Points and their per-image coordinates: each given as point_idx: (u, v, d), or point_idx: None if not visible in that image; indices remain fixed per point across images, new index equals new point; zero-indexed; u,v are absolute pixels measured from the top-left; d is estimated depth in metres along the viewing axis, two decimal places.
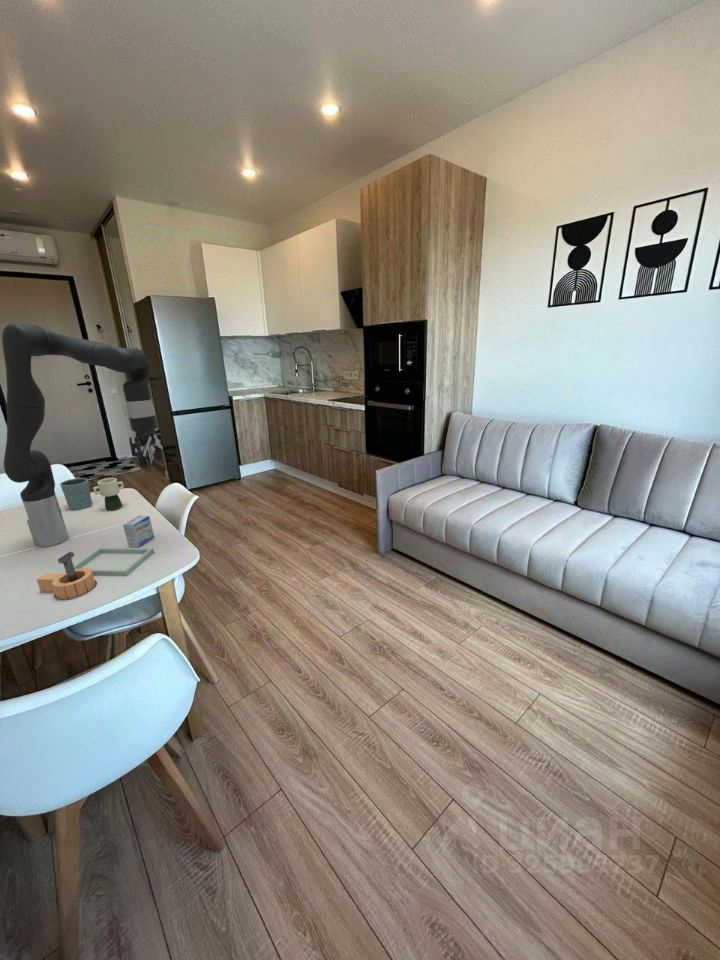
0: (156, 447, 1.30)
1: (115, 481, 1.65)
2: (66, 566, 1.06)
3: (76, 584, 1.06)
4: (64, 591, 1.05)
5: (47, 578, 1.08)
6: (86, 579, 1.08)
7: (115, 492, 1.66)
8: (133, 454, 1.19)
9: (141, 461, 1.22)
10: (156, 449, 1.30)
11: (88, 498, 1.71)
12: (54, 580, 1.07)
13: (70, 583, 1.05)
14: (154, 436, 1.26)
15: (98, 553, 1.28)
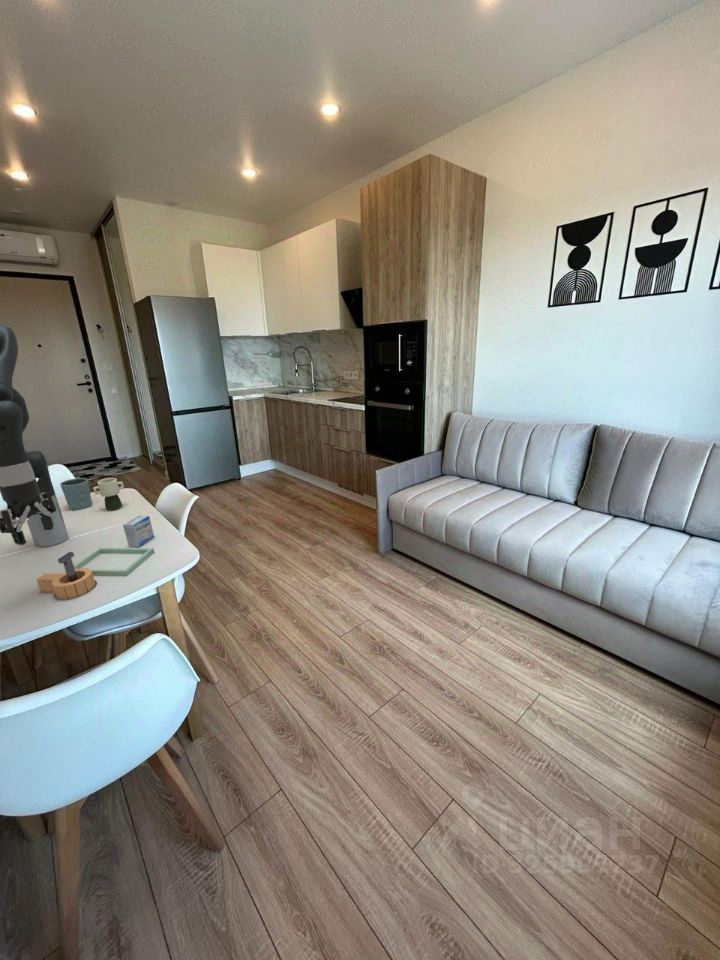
0: (43, 515, 1.08)
1: (115, 481, 1.65)
2: (66, 566, 1.06)
3: (76, 584, 1.06)
4: (64, 591, 1.05)
5: (47, 578, 1.08)
6: (86, 579, 1.08)
7: (115, 492, 1.66)
8: (2, 531, 0.97)
9: (15, 537, 0.99)
10: (43, 517, 1.08)
11: (88, 498, 1.71)
12: (54, 580, 1.07)
13: (70, 583, 1.05)
14: (35, 504, 1.03)
15: (98, 553, 1.28)
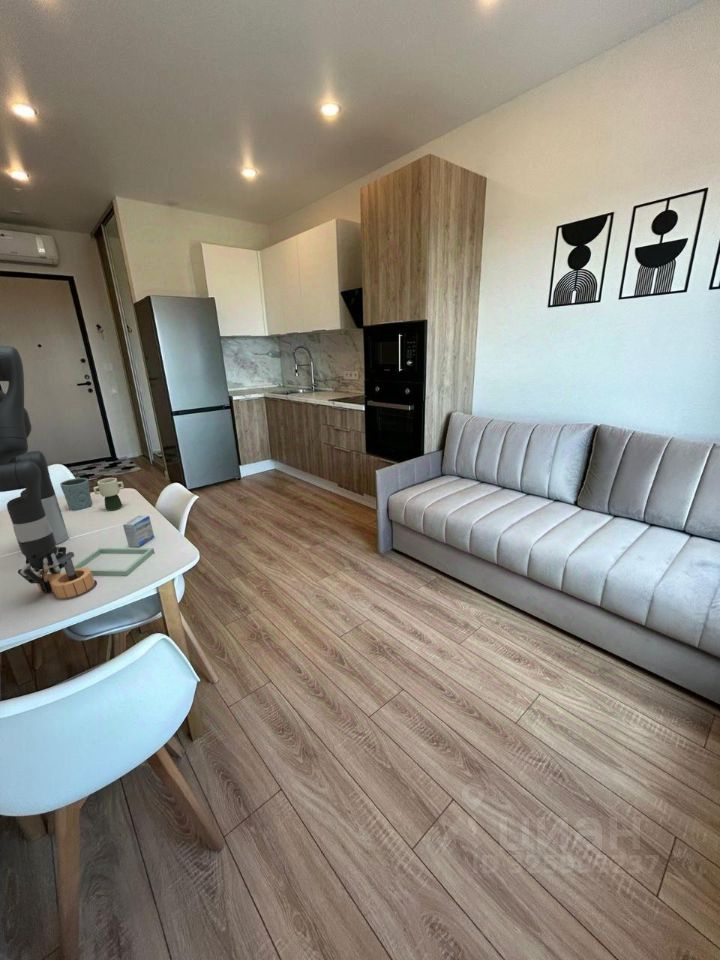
0: (52, 571, 1.10)
1: (115, 481, 1.65)
2: (66, 566, 1.06)
3: (75, 583, 1.06)
4: (63, 590, 1.05)
5: None
6: (85, 578, 1.08)
7: (115, 492, 1.66)
8: (31, 582, 1.05)
9: (43, 586, 1.07)
10: None
11: (88, 498, 1.71)
12: (53, 580, 1.07)
13: (69, 582, 1.05)
14: (52, 555, 1.08)
15: (98, 553, 1.28)
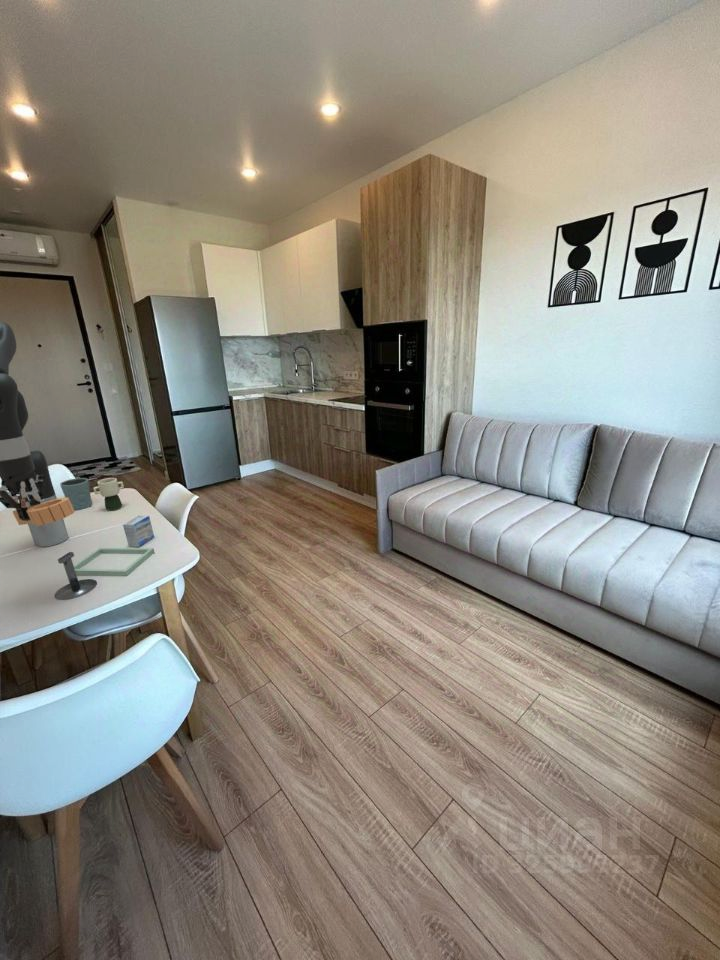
0: (32, 499, 1.04)
1: (115, 481, 1.65)
2: (66, 566, 1.06)
3: (51, 508, 0.99)
4: (39, 516, 0.99)
5: None
6: (62, 504, 1.01)
7: (115, 492, 1.66)
8: (7, 507, 0.98)
9: (20, 513, 1.01)
10: (32, 501, 1.04)
11: (88, 498, 1.71)
12: (29, 509, 1.01)
13: (44, 507, 0.99)
14: (30, 480, 1.02)
15: (98, 553, 1.28)
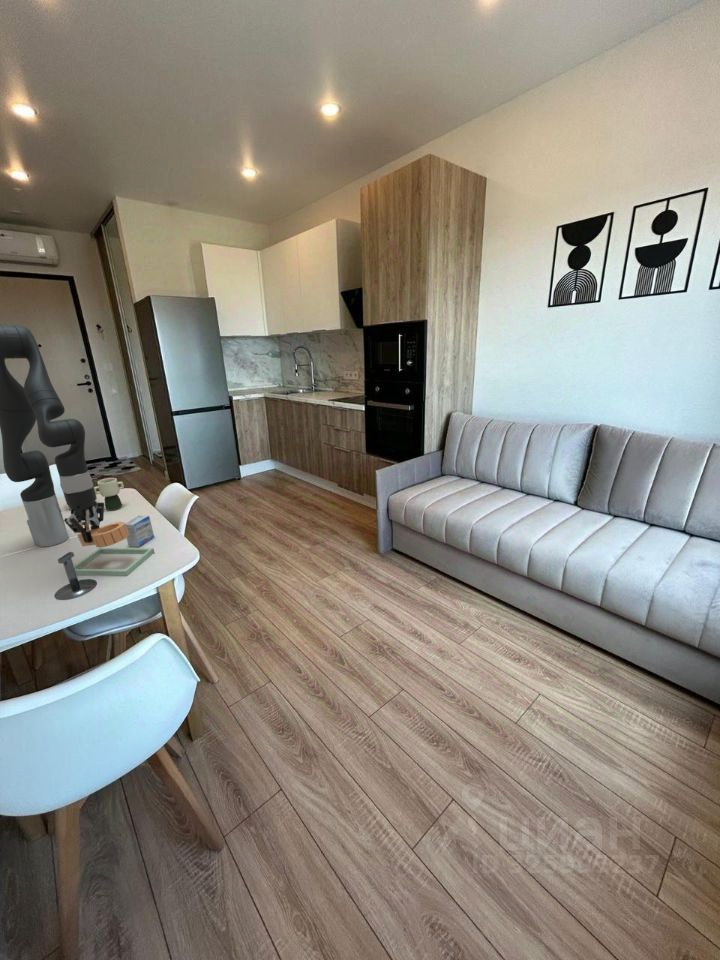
0: (93, 524, 1.21)
1: (115, 481, 1.65)
2: (66, 566, 1.06)
3: (112, 532, 1.16)
4: (102, 539, 1.15)
5: None
6: (120, 528, 1.18)
7: (115, 492, 1.66)
8: (75, 532, 1.15)
9: (84, 536, 1.17)
10: (93, 526, 1.21)
11: None
12: (93, 532, 1.18)
13: (107, 532, 1.16)
14: (93, 508, 1.18)
15: (98, 553, 1.28)
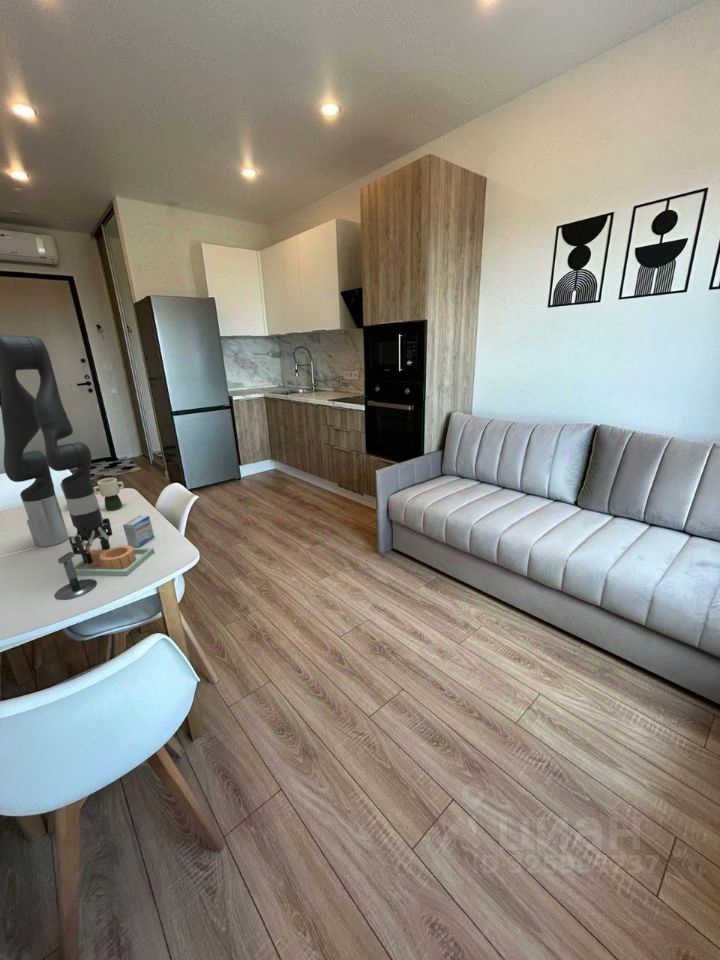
0: (102, 538, 1.25)
1: (115, 481, 1.65)
2: (66, 566, 1.06)
3: (121, 558, 1.19)
4: (111, 564, 1.18)
5: (94, 554, 1.21)
6: (129, 554, 1.21)
7: (115, 492, 1.66)
8: (75, 553, 1.15)
9: (84, 558, 1.17)
10: (102, 540, 1.25)
11: None
12: (101, 555, 1.20)
13: (116, 557, 1.18)
14: (99, 529, 1.20)
15: None
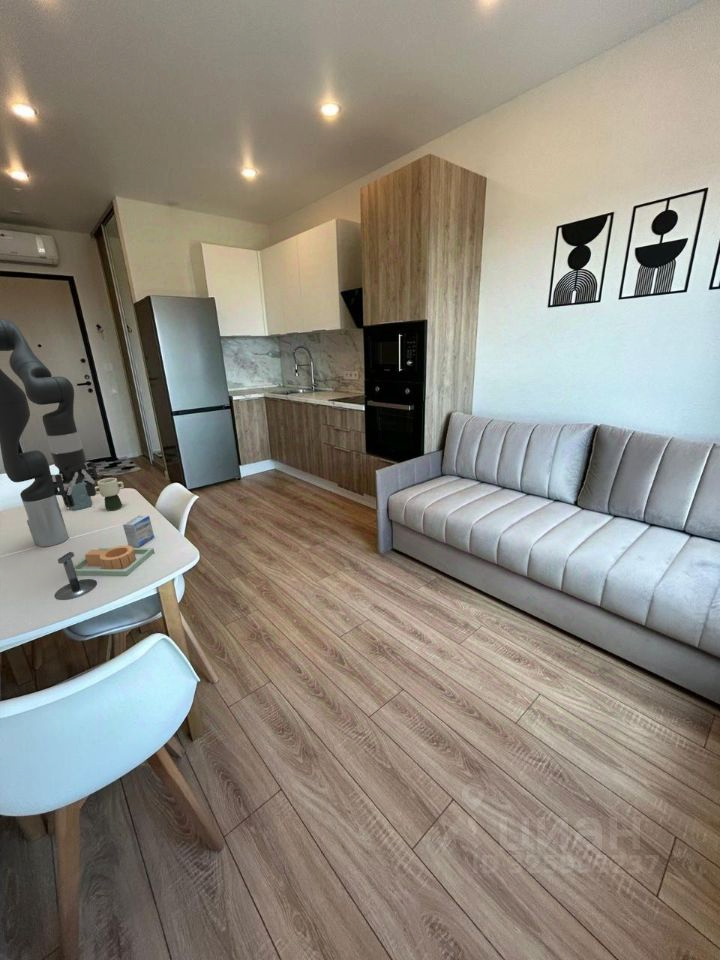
0: (87, 482, 1.19)
1: (115, 481, 1.65)
2: (66, 566, 1.06)
3: (121, 558, 1.19)
4: (111, 564, 1.18)
5: (94, 554, 1.21)
6: (129, 554, 1.21)
7: (115, 492, 1.66)
8: (55, 493, 1.08)
9: (65, 500, 1.11)
10: (87, 484, 1.19)
11: (88, 498, 1.71)
12: (101, 555, 1.20)
13: (116, 557, 1.18)
14: (82, 471, 1.15)
15: None
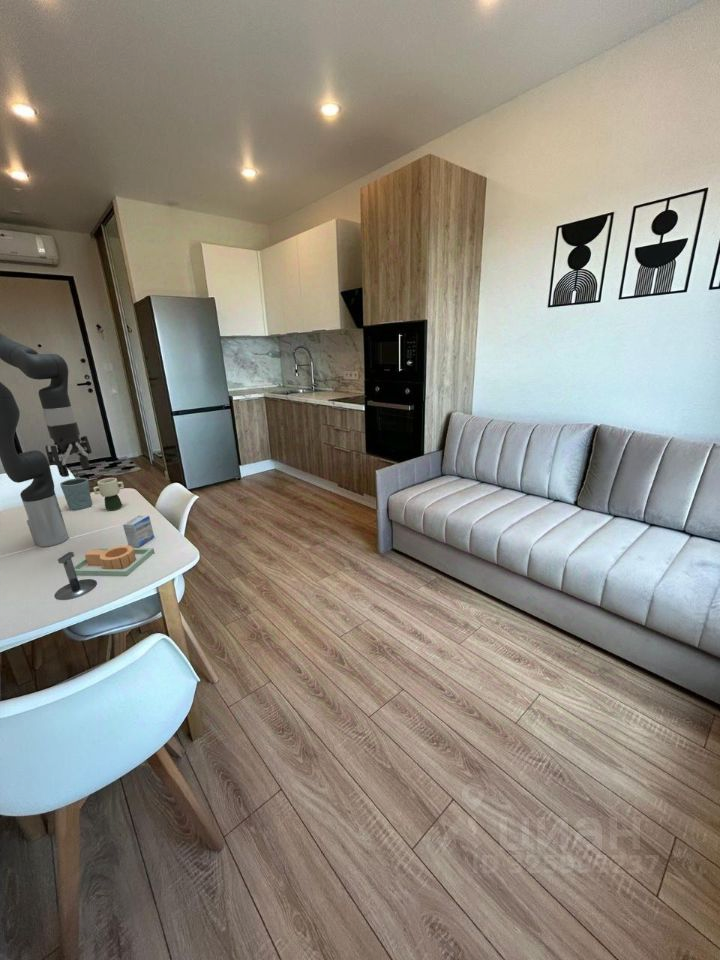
0: (81, 455, 1.27)
1: (115, 481, 1.65)
2: (66, 566, 1.06)
3: (121, 558, 1.19)
4: (111, 564, 1.18)
5: (94, 554, 1.21)
6: (129, 554, 1.21)
7: (115, 492, 1.66)
8: (50, 463, 1.16)
9: (60, 470, 1.19)
10: (81, 457, 1.27)
11: (88, 498, 1.71)
12: (101, 555, 1.20)
13: (116, 557, 1.18)
14: (76, 444, 1.23)
15: None
